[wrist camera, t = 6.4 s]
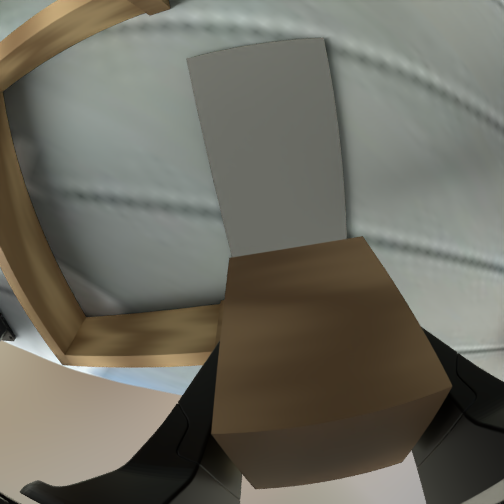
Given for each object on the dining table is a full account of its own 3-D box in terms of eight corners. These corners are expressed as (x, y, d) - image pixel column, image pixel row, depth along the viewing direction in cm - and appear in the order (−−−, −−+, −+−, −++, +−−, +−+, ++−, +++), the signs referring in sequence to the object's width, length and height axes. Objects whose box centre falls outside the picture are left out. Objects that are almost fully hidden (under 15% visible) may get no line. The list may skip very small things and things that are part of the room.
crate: (84, 330, 23) (61, 373, 18) (-9, 82, 12) (-59, 91, 7) (242, 317, 21) (240, 373, 17) (165, -15, 10) (134, -50, 6)
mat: (254, 341, 23) (254, 345, 22) (187, 59, 13) (186, 58, 13) (345, 326, 22) (346, 330, 22) (321, 39, 12) (323, 37, 12)
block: (253, 348, 12) (255, 489, 6) (229, 257, 10) (211, 434, 4) (358, 331, 11) (401, 462, 6) (362, 236, 9) (452, 386, 4)
